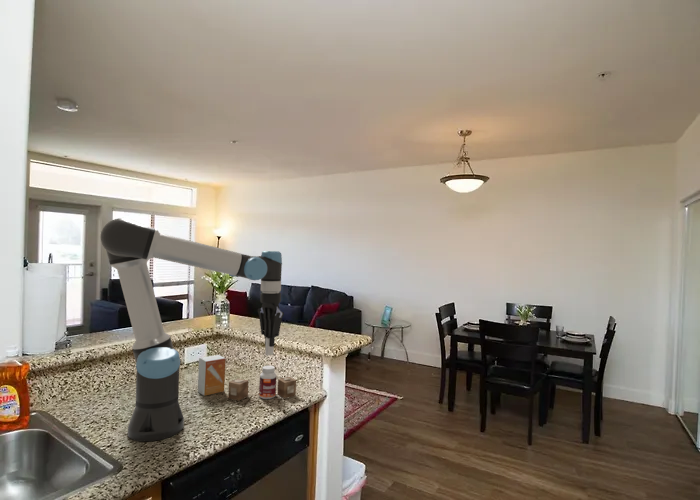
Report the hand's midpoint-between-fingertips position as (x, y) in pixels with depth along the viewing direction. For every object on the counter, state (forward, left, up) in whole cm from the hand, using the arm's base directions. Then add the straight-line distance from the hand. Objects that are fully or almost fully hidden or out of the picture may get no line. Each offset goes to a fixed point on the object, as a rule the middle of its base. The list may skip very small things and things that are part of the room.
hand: (269, 354), depth 148 cm
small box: (-12, +19, -16) cm, 28 cm away
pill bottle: (0, 0, -16) cm, 16 cm away
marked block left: (-8, +7, -16) cm, 19 cm away
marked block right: (+6, -4, -16) cm, 17 cm away
